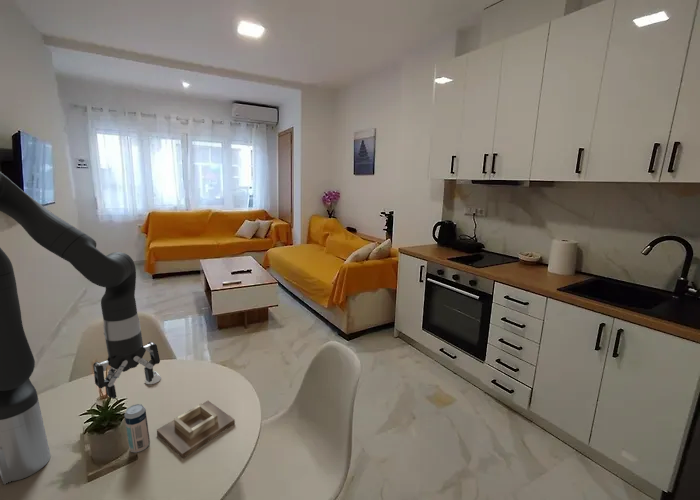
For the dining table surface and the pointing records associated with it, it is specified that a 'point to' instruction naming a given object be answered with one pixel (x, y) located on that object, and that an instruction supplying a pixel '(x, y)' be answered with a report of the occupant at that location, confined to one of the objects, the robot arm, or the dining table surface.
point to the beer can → (137, 428)
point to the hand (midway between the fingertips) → (132, 388)
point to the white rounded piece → (154, 378)
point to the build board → (195, 428)
